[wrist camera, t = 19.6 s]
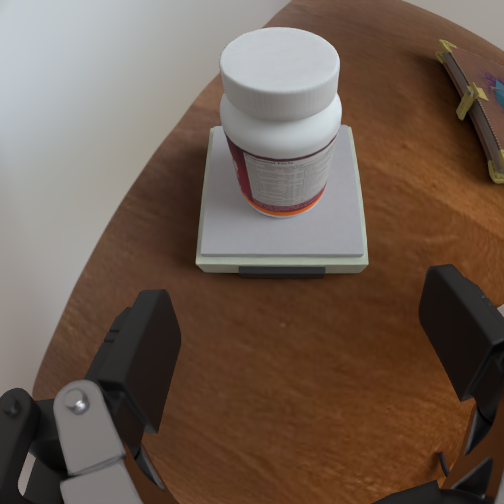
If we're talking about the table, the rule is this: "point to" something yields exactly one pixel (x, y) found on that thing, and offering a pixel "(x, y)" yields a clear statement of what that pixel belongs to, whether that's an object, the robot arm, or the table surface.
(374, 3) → the table surface
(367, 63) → the table surface
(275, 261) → the scale
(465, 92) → the book
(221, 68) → the pill bottle
